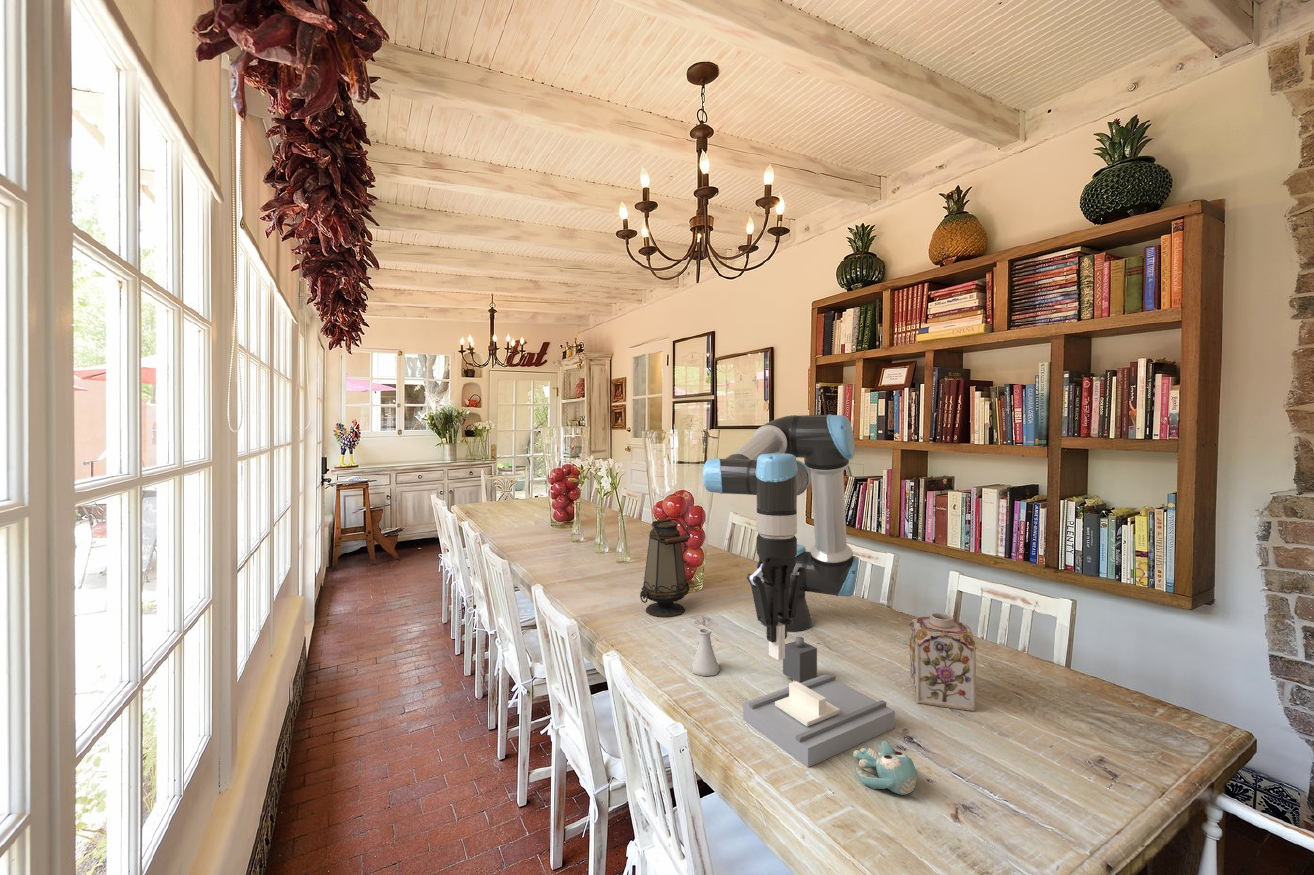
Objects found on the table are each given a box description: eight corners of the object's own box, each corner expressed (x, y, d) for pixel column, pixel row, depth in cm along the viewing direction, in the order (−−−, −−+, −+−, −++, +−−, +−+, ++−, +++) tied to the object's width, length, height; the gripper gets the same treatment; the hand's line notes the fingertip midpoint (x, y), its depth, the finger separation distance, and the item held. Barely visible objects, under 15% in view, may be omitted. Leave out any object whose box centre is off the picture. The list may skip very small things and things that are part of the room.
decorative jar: (965, 686, 124) (965, 609, 123) (977, 713, 113) (977, 628, 112) (908, 679, 128) (908, 604, 127) (914, 703, 117) (914, 621, 116)
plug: (799, 673, 131) (799, 631, 131) (816, 682, 126) (816, 639, 126) (782, 678, 128) (782, 636, 128) (799, 688, 124) (799, 644, 123)
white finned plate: (807, 693, 114) (807, 676, 114) (840, 713, 106) (840, 694, 106) (774, 705, 109) (774, 687, 109) (807, 726, 102) (807, 706, 102)
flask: (718, 678, 129) (718, 637, 129) (688, 675, 130) (688, 635, 130) (721, 664, 136) (721, 625, 136) (692, 662, 138) (692, 624, 137)
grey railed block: (825, 689, 123) (825, 670, 123) (894, 727, 108) (894, 706, 108) (743, 719, 111) (743, 698, 111) (807, 767, 96) (807, 744, 95)
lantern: (673, 598, 187) (672, 512, 186) (701, 611, 174) (701, 518, 173) (628, 609, 176) (627, 518, 175) (655, 623, 164) (654, 525, 163)
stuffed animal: (877, 721, 101) (931, 743, 90) (882, 762, 100) (938, 790, 89) (832, 735, 96) (883, 760, 86) (837, 778, 95) (890, 809, 85)
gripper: (788, 527, 109) (788, 642, 110) (736, 535, 103) (737, 657, 103) (816, 534, 103) (816, 656, 103) (763, 542, 96) (763, 673, 97)
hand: (776, 656), depth 103 cm, fingers closed
